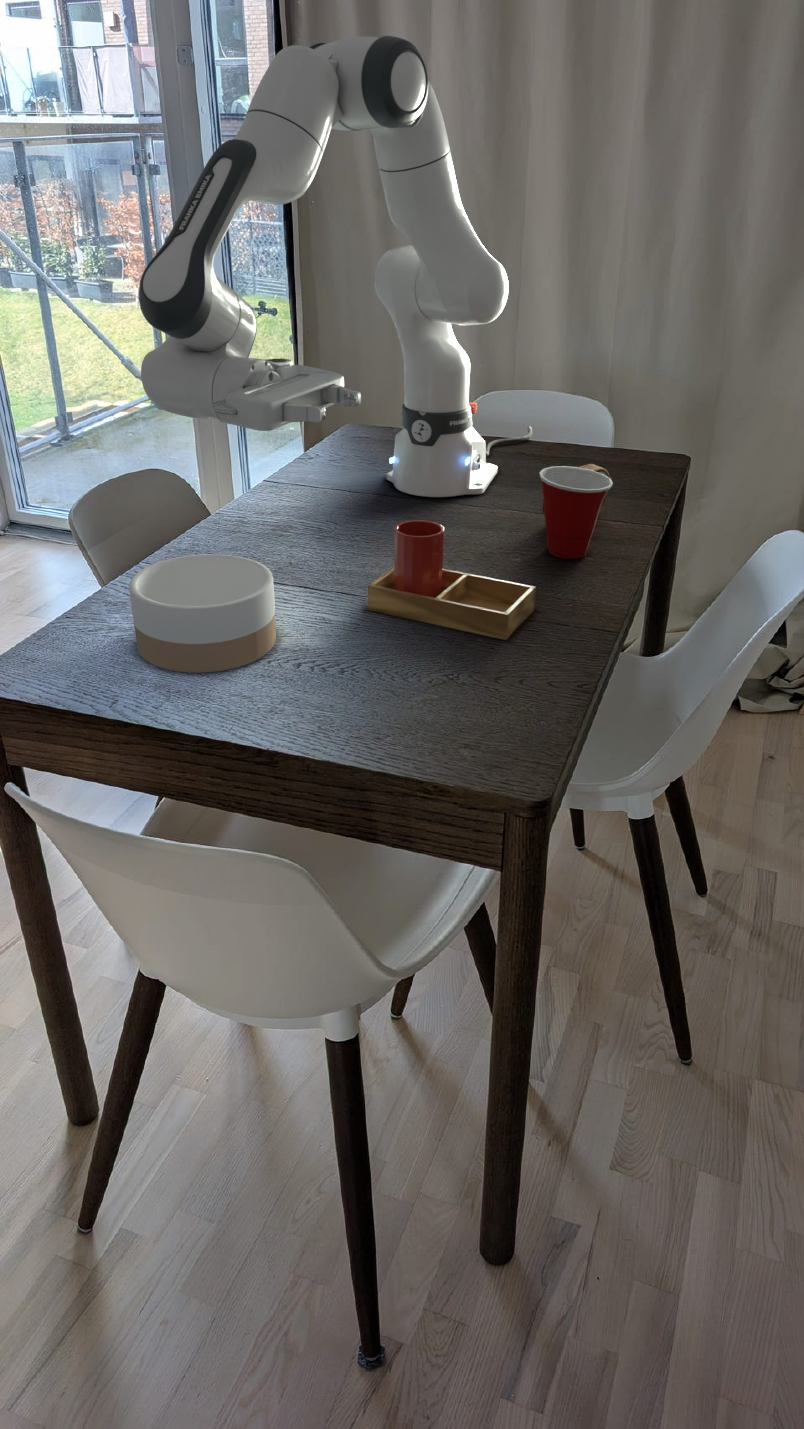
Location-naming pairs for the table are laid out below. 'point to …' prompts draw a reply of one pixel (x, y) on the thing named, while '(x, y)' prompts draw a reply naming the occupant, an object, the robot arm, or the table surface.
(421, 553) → the cup
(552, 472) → the plastic cup
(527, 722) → the table surface
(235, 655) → the bowl
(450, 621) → the caddy
